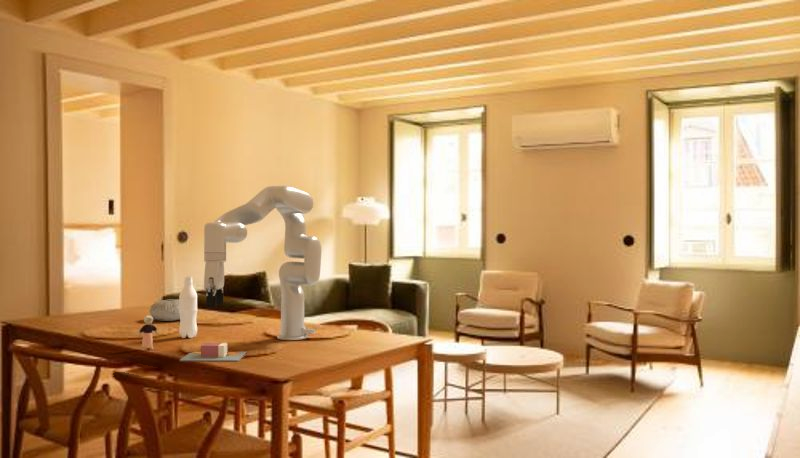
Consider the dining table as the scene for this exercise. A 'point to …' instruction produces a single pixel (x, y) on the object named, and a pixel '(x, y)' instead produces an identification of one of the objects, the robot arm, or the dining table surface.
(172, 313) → the grey rounded rock
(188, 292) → the water bottle
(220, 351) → the card deck
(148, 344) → the grandmother figurine
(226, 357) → the mat
